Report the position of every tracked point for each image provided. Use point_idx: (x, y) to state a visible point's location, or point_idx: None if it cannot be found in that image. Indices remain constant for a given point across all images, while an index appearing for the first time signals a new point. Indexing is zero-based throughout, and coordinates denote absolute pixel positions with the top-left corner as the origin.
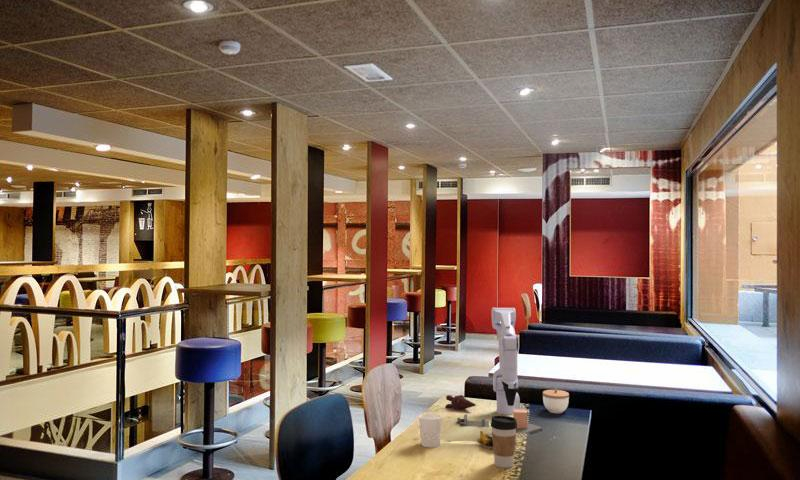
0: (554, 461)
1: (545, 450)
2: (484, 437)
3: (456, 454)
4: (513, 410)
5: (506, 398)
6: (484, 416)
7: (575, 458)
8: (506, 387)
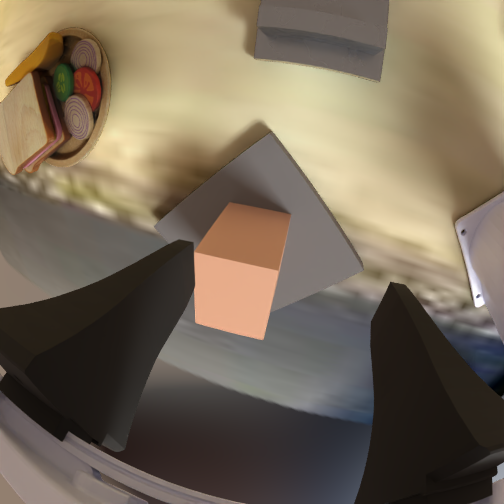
0: (21, 245)
1: (60, 250)
2: (35, 58)
3: (14, 5)
4: (241, 263)
5: (394, 293)
6: (346, 35)
7: (49, 292)
8: (17, 376)
